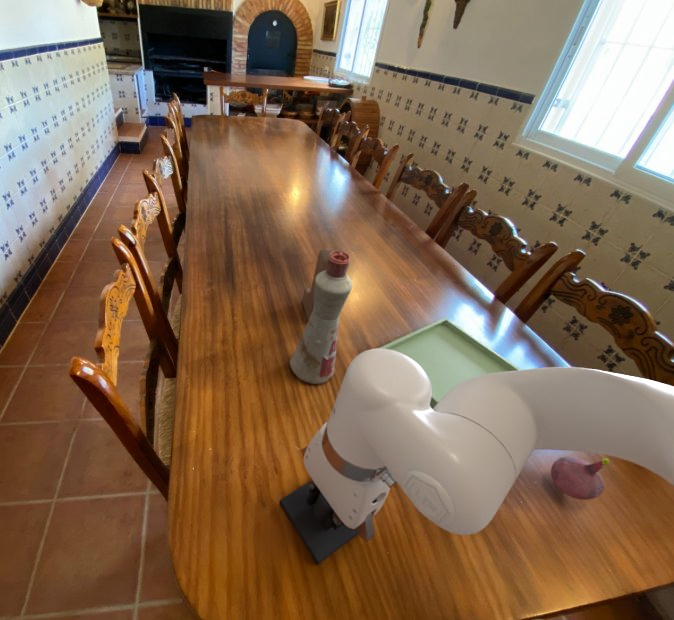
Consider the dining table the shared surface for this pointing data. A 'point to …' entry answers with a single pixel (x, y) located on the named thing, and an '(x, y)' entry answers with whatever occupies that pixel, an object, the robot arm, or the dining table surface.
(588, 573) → the dining table surface
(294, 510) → the black square peg base
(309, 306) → the wooden block
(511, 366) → the pale green flat tray
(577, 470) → the vegetable
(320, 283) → the bottle
